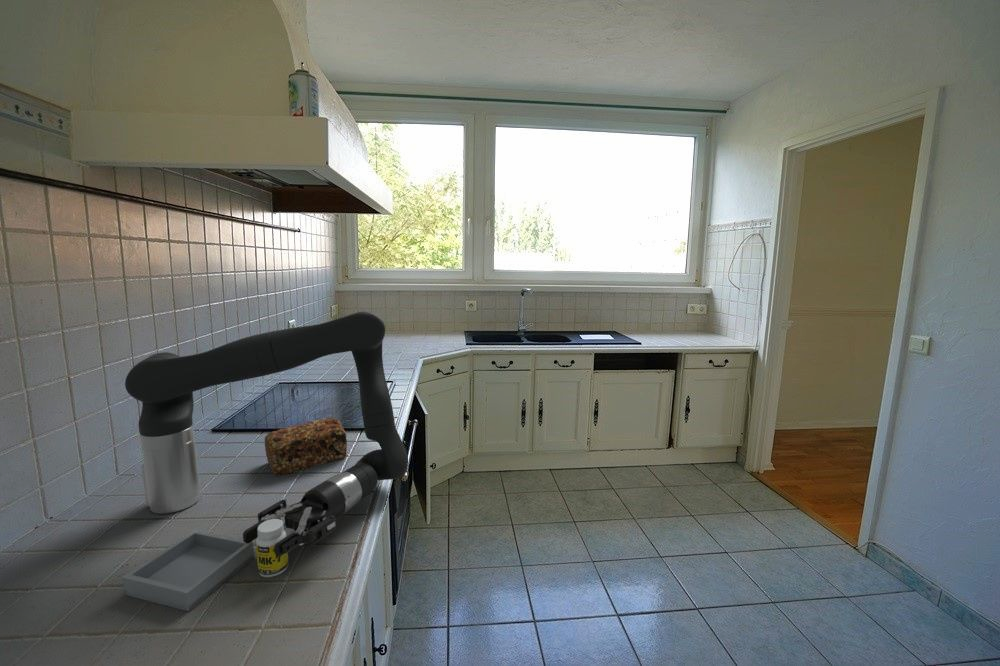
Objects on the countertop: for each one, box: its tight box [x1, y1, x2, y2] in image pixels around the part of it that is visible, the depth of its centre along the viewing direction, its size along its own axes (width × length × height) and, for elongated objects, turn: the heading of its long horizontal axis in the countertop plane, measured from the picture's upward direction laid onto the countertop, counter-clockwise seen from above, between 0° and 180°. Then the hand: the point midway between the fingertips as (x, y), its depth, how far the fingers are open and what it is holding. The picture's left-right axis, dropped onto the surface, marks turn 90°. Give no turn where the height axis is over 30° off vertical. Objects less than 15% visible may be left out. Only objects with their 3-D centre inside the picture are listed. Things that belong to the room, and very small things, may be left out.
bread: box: [264, 417, 348, 477], centre depth 119 cm, size 19×11×10 cm, turn 125°
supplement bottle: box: [255, 519, 289, 578], centre depth 78 cm, size 5×5×8 cm
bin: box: [121, 529, 255, 612], centre depth 77 cm, size 13×13×3 cm
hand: (260, 544), depth 76 cm, fingers open, 7 cm apart
